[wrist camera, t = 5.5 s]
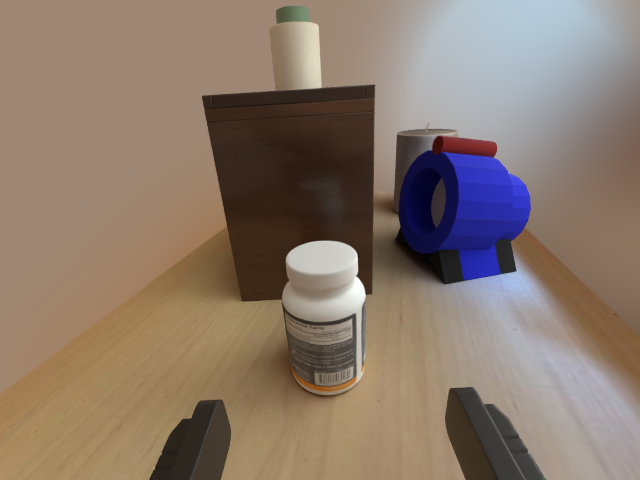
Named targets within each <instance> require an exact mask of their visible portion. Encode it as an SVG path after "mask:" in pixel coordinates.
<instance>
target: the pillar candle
mask: <svg viewBox="0 0 640 480" xmlns="http://www.w3.org/2000/svg"><path fill="white" fill-rule="evenodd" d="M428 126H429V123H428V125H427V128H426V129H421V130H408V131H401V132H398V133H397V147H396V170H395V190H394V211H396V212H397V213H399V198H400V191H401V187H402V184H403V180H404V177H405V175H406V173H407V171H408V169H409V167H410V165H411V164H412V163H413V162H414V160H415V159H416V158H417V157H418V156H419V155H421V154H422V153H424V152H426V151H427V150H432V145H433V141H434V140H435V138H436V137H437V136H449V137H457V133H458V131H456V130H449V129H428Z"/></svg>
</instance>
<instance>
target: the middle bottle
mask: <svg viewBox="0 0 640 480" xmlns="http://www.w3.org/2000/svg"><path fill="white" fill-rule="evenodd" d="M276 19H277V24H276V25H274V26H272V27H270V29H269V33H270V42H271V52H272V61H273V71H274V79H275V89H276V91H283V90H298V89H314V88H322V87H321V66H320V48H319V47H320V46H319V27H318V25H317V24H314V23H310V13H309V9H308V8H306V7H303V6H286V7H282V8H279V9H277V10H276Z"/></svg>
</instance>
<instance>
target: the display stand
mask: <svg viewBox="0 0 640 480" xmlns="http://www.w3.org/2000/svg"><path fill="white" fill-rule="evenodd" d="M202 100H203V105H204V109H205V110H204V111H205V116H206V120H207V126H208V130H209V136H210V141H211V146H212V150H213V156H214V161H215V166H216V171H217V176H218V181H219V186H220V191H221V196H222V202H223V207H224V212H225V217H226V222H227V227H228V232H229V237H230V242H231V247H232V252H233V257H234V262H235V268H236V273H237V278H238V283H239V288H240V293H241V298H242V301H252V300H271V299H282V295H283V290H284V288H285V286H286V284H287V283H288V281H289V279H288V276H287V270H286V257H287V255H288V253H289V252H290V251H291V250H292V249H294V248H296V247H298V246H300V245H302V244H305V243H309V242H314V241H336V242H341V243H344V244H347V245H349V246H351V247H352V248H353V249H354V250H355V251H356V253H357V257H358V273H357V275H356V277H357V278H358V279H359V280H360V281H361V283H362V284H363V286H364V289H365V294H372V262H373V196H374V190H373V189H374V129H375V112H374V111H375V85H365V86H364V85H360V86H345V87H329V88H314V89H298V90H283V91H267V92H251V93H236V94H221V95H205V96H202Z"/></svg>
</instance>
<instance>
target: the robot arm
mask: <svg viewBox="0 0 640 480" xmlns="http://www.w3.org/2000/svg"><path fill="white" fill-rule="evenodd" d="M445 423H446V429H447V433H448V436H449V439H450V441H451V444H452V446H453V449H454V451H455V454H456V456H457V459H458V461H459V464H460V466H461V469H462V472H463V474H464V477H465V479H466V480H546V479H545V477H544V476H543V474H542V472H541V471H540V469H539V467H538V466H537V464H536V463H535V461H534V459H533V458H532V456H531V454H529V453H528V450H527V448H526V446H525V445H524V443H523V441H522V440H521V439H520V438H519V435H518V433H517V432H516V430H515V428H514V427H513V425H512V423H511V422H510V420H509V418H508V417H507V416H505V415H504V414H503V413H502V412H501V411H500V410H499V409H498V408H497V407H496V406H495V405H494V404H484V403H483V402H482V400H481V398H480V396H479V394H478V393H477V391H476V390H475V389H474V388H473V387H466V388H450V390H449V394H448V401H447V408H446V415H445ZM230 439H231V428H230V424H229V420H228V417H227V413H226V410H225V406H224V403H223V401H222V400H204V401H199V402H198V404H197V406H196V408H195V410H194V413H193V415H192V418H191V419H182V420H181V422H180V423H179V424H178V425H177V426H176V428H175V429H174V430H173V431H172V432H171V434H170V435H169V438H168V440H167V442H166V444H165V446H164V449H163V451H162V455H160V457H159V460H158V462H157V464H156V466H155V470H154V471H153V473H152V475H151V477H150V479H149V480H221V477H222V473H223V469H224V465H225V461H226V458H227V454H228V450H229V446H230Z"/></svg>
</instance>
